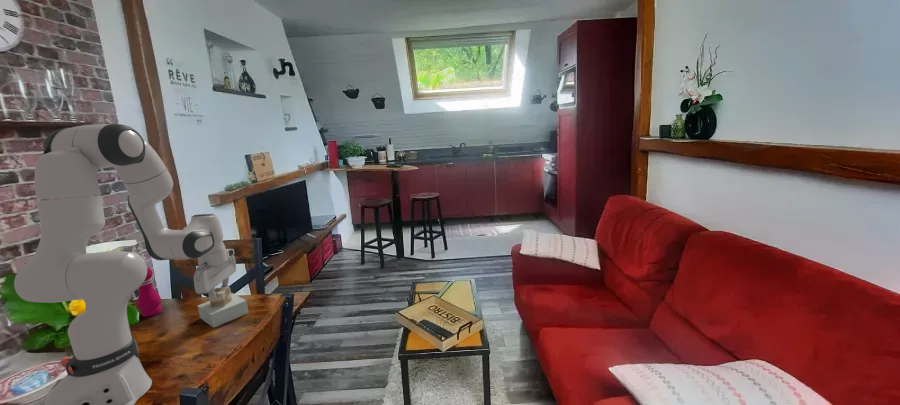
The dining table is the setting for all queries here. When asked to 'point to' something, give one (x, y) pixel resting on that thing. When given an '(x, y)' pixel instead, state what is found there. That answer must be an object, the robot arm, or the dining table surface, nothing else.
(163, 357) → the dining table surface
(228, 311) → the base block
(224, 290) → the birch cube
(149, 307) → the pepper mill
